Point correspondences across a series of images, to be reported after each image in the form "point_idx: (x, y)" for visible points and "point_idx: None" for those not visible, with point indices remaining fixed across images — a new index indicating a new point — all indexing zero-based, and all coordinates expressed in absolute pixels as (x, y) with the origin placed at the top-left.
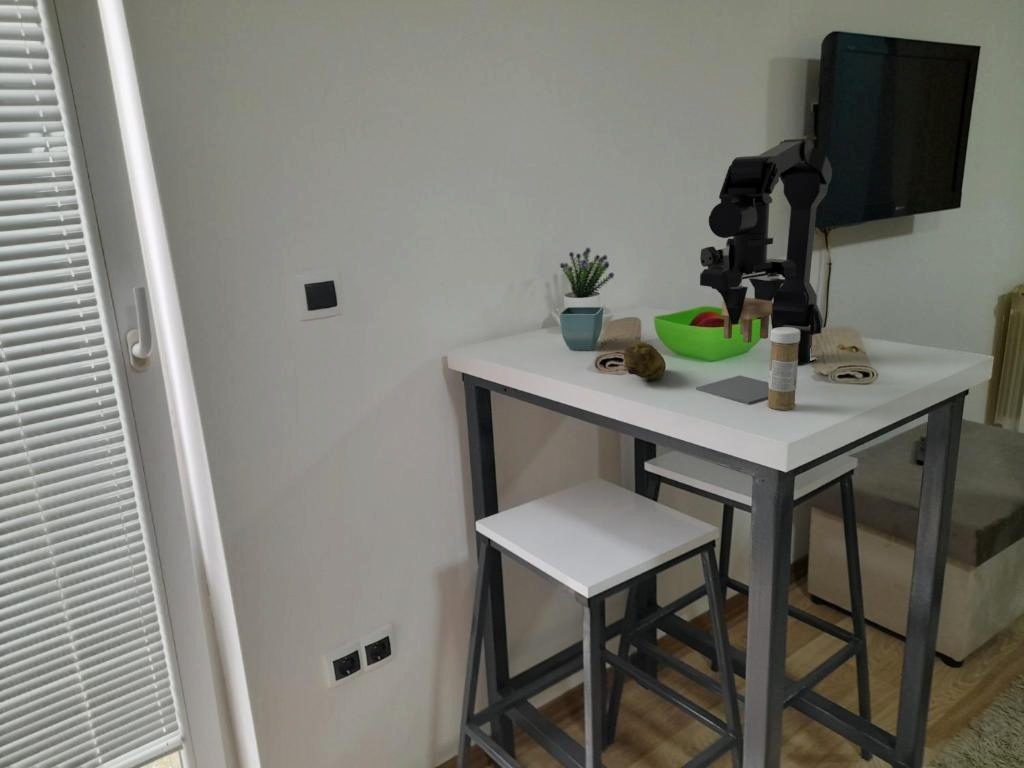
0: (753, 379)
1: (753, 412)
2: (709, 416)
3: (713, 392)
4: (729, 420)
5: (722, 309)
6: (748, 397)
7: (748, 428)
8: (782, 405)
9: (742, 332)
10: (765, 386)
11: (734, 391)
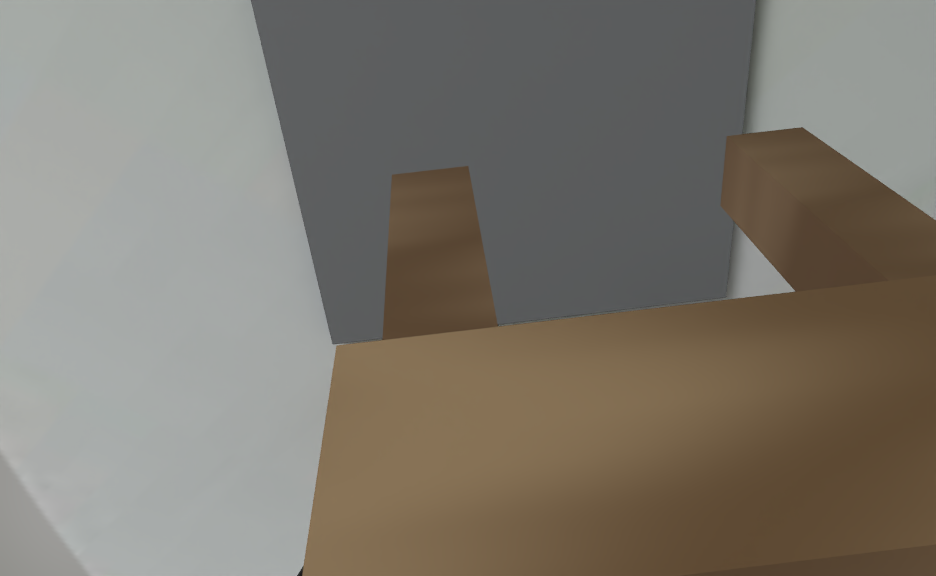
0: (740, 5)
1: (273, 425)
2: (23, 371)
3: (272, 86)
4: (93, 450)
5: (328, 443)
6: None
7: (117, 542)
8: None
9: (731, 189)
10: (651, 181)
11: (409, 152)
